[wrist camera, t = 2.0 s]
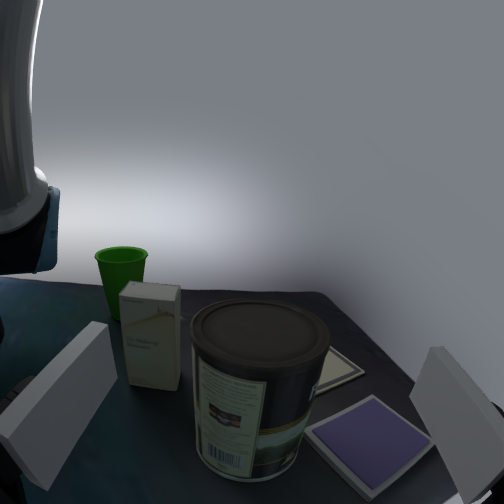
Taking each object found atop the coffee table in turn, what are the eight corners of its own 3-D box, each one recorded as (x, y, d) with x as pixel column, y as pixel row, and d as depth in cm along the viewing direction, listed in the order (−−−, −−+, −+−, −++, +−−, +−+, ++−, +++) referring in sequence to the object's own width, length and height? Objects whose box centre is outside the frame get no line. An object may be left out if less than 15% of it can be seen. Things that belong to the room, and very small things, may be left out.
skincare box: (128, 385, 30) (115, 295, 27) (136, 364, 35) (128, 279, 31) (179, 392, 31) (174, 300, 28) (183, 369, 35) (181, 283, 32)
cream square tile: (230, 346, 42) (230, 344, 42) (306, 329, 48) (306, 327, 48) (281, 407, 30) (282, 405, 30) (364, 373, 36) (365, 371, 36)
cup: (153, 304, 52) (152, 247, 49) (145, 329, 43) (142, 263, 41) (108, 301, 50) (104, 245, 48) (94, 325, 42) (86, 260, 39)
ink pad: (300, 434, 26) (302, 427, 26) (370, 399, 31) (373, 392, 31) (367, 502, 17) (372, 497, 16) (432, 446, 22) (437, 440, 21)
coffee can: (293, 410, 30) (317, 301, 26) (302, 483, 20) (347, 370, 16) (202, 404, 30) (202, 291, 26) (186, 476, 20) (173, 359, 16)
